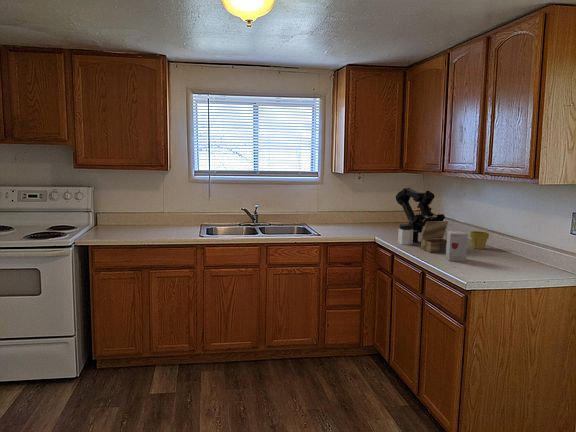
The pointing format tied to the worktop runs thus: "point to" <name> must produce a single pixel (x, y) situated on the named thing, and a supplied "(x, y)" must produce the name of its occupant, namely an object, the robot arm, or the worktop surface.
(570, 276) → the worktop surface
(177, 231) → the worktop surface
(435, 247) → the cardboard box
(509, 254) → the worktop surface
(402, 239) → the jar
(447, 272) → the worktop surface
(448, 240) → the supplement box
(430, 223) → the lid
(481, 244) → the plant pot
